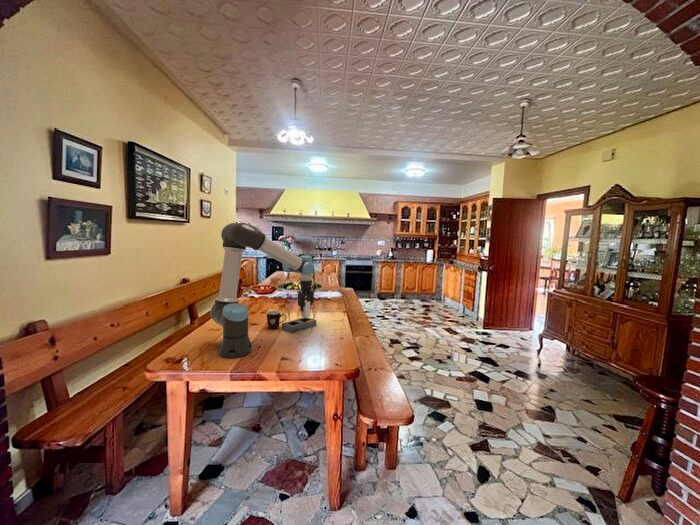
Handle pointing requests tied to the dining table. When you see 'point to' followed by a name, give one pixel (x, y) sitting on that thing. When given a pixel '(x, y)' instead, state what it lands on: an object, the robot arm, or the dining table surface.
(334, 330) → the dining table surface
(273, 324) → the coffee mug
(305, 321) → the grey cinder block
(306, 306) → the aluminium peg
